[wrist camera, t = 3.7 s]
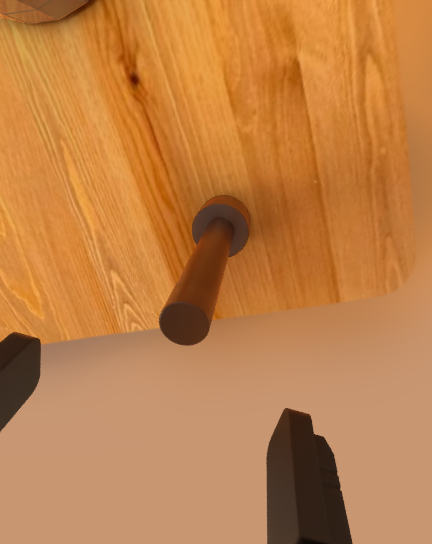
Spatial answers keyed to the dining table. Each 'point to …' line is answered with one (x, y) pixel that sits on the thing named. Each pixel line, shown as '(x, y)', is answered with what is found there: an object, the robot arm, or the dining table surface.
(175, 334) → the masher
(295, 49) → the dining table surface
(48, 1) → the bowl
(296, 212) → the dining table surface
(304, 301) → the dining table surface
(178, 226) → the dining table surface
